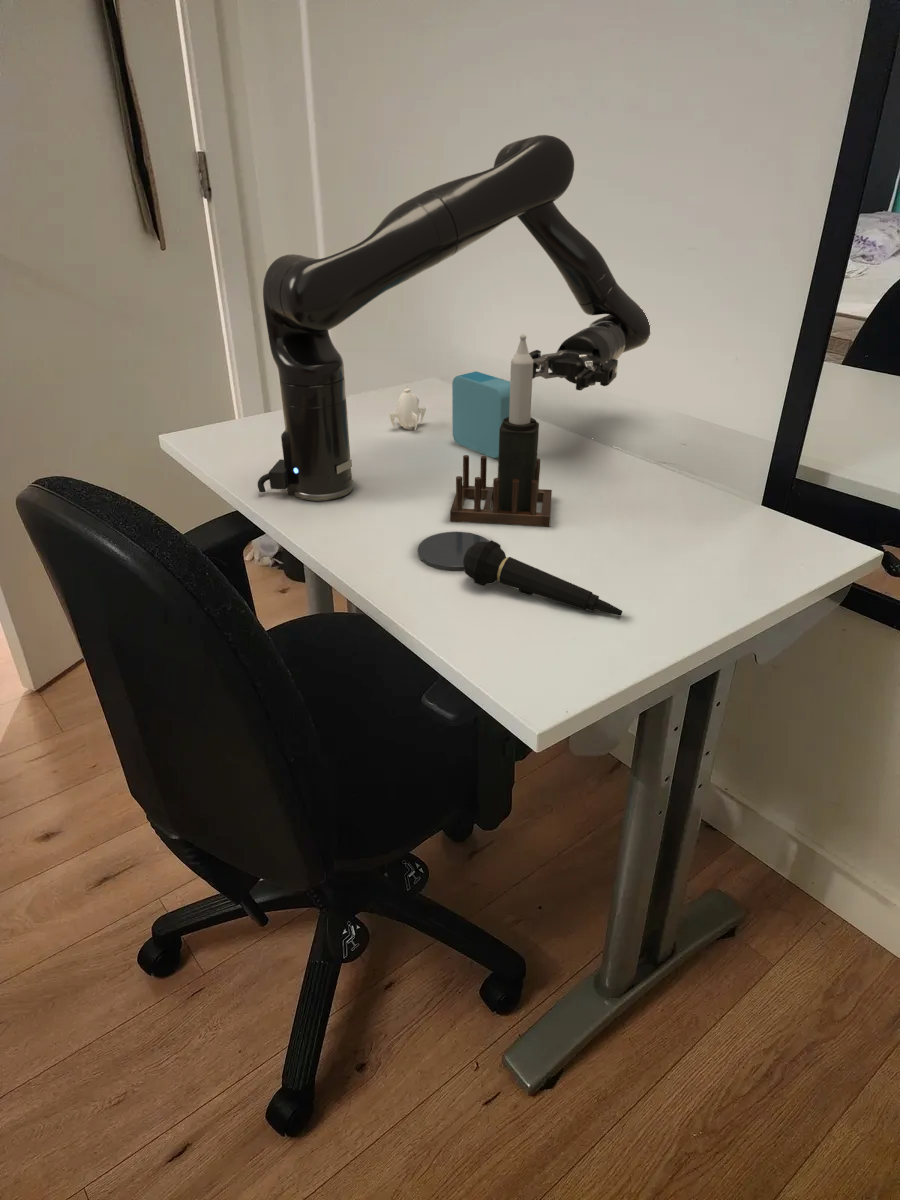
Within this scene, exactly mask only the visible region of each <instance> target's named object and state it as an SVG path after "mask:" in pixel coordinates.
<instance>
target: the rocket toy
mask: <svg viewBox="0 0 900 1200" xmlns="http://www.w3.org/2000/svg"><path fill="white" fill-rule="evenodd" d="M419 403H420V398H419V397H418V396H417V395H415V394H414V393H413V392H412V391H411V388H408V387H406V388H404V389H403V392H402V393H401V394H400V396H399V398H398V400H397V404H396V410H395V411H394V412H391V413H389V414H388V416H389V419H390V421H391V423H392V426H393V428H394V430H397V427H396V422H395V419H397V422H398V423H399V425H400V426H402V427H403V429H404V430H412V429H414V431H416V430H417V426H418V422H419V419H420V423H419V424H420V425H422V423H423V421H424V418H425V414H426V411H427V406H422V407H419ZM420 415H421V417H420Z"/></svg>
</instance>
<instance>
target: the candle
mask: <svg viewBox="0 0 900 1200" xmlns="http://www.w3.org/2000/svg"><path fill="white" fill-rule="evenodd" d="M519 339H520V341H519V343H518V347H517V350H516V352H515V354H514V355H513V357H512V358H511V360H510V380H509V381H510V406H509V417H507V418H505V419H504V421H503V422H502V424H501V427H500V429H499V463H498V462H497V478H499V479H500V497H499V510H503V511H511V504H512V480H513V479H518V480H519V492H518V511H522V512H530V500H531V481H532V480H536V470H537V458H538V450H539V449H538V448H539V430H540V423H539V422H537V419H535V418H533V417H531V415H532V414H531V413H532V398H533V397H532V395H533V394H532V393H533V379H532V377H533V359H532V357H531V356H530V354H529V353H530V352H529V349H528V345H527V341H526V340H527V335H526V334H525V333H521V334H520V335H519Z"/></svg>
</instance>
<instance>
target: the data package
mask: <svg viewBox="0 0 900 1200" xmlns="http://www.w3.org/2000/svg"><path fill="white" fill-rule="evenodd" d="M451 384H452V385H451V386H452V387H451V389H452V395H451V397H452V399H451V400H452V403H451V404H452V413H451V415H452V417H451V418H452V419H451V421H452V438H453V440H454V442H455V443H456V444H457V445H459V446H462V447H464V448H466V449H469V450H471V451H474V452H477V453H480V454H481V455H483V456H486V457H489V458H492V459H498V458H499V429H500V427H501V424H502V422H503V421H504V419H505V418H507V417H509V406H510V380H507V379H503V378H500V377H497V376H494V375H489V374H486V373H483V372H480V371H472V372H467V373H463V374H459V375H456V376H454V377H453V379H452V383H451Z"/></svg>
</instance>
